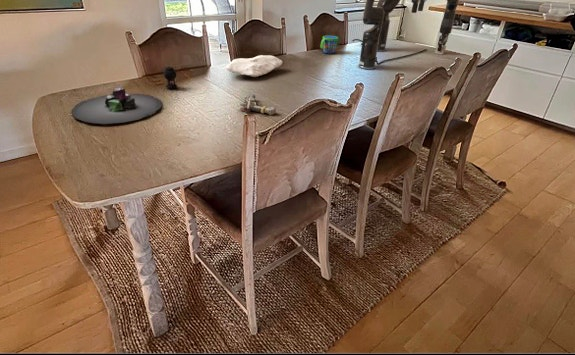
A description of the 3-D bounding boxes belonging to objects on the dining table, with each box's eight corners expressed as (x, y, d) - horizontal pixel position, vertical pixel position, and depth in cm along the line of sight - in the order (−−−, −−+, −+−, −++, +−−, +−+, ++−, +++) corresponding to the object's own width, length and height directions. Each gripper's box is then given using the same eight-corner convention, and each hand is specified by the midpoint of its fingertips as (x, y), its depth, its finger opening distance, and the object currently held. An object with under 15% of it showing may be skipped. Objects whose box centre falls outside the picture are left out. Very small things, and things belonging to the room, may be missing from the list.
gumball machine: (165, 90, 172) (162, 69, 166) (163, 86, 176) (159, 65, 171) (180, 88, 175) (177, 67, 169) (177, 85, 179) (174, 64, 174)
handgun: (275, 94, 165) (242, 93, 164) (275, 109, 150) (239, 108, 149) (275, 100, 167) (242, 99, 166) (275, 115, 152) (239, 114, 151)
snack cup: (333, 49, 252) (334, 34, 247) (343, 53, 245) (344, 37, 239) (315, 52, 245) (316, 36, 239) (324, 55, 237) (326, 39, 232)
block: (434, 53, 255) (436, 45, 253) (437, 51, 259) (438, 44, 256) (442, 54, 253) (444, 47, 250) (444, 53, 256) (446, 45, 254)
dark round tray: (174, 113, 149) (170, 91, 144) (79, 131, 131) (72, 107, 127) (148, 93, 173) (144, 73, 169) (65, 106, 156) (59, 85, 151)
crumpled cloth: (213, 69, 198) (213, 53, 192) (266, 60, 216) (267, 45, 210) (236, 88, 185) (236, 71, 179) (290, 76, 203) (292, 61, 197)
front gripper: (428, -27, 155) (419, 14, 164) (438, -28, 165) (429, 11, 174) (411, -28, 159) (403, 12, 168) (422, -29, 169) (414, 9, 177)
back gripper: (449, 27, 239) (443, 52, 248) (455, 24, 249) (448, 49, 258) (438, 26, 243) (432, 51, 252) (444, 23, 253) (438, 47, 262)
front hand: (417, 11), depth 171 cm, fingers open, 8 cm apart
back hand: (440, 50), depth 255 cm, fingers open, 8 cm apart
